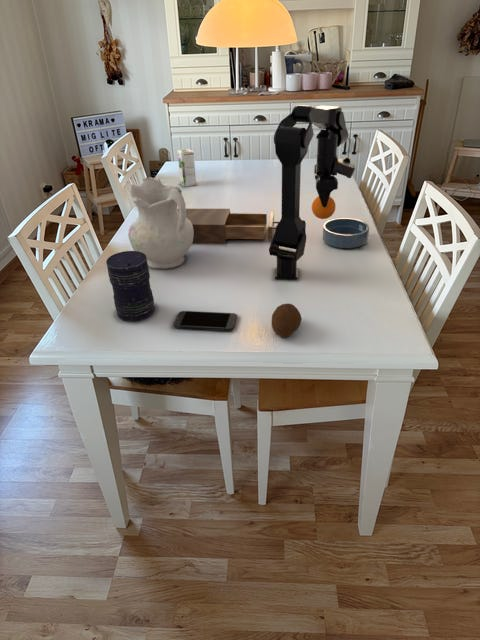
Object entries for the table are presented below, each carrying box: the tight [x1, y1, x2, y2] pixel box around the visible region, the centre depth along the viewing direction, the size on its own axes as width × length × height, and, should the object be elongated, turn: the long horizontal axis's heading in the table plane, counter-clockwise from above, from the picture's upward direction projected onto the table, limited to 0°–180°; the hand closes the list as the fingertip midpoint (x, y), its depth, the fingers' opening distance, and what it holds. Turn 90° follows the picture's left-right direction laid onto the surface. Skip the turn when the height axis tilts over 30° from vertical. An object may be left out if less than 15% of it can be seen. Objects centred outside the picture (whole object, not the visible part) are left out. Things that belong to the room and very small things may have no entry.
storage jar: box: [105, 250, 156, 323], centre depth 121 cm, size 10×10×15 cm
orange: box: [311, 195, 336, 220], centre depth 152 cm, size 7×7×7 cm
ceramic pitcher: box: [127, 176, 194, 270], centre depth 142 cm, size 22×20×25 cm
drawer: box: [225, 211, 280, 242], centre depth 161 cm, size 22×13×5 cm, turn 83°
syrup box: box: [177, 148, 197, 188], centre depth 209 cm, size 6×6×14 cm
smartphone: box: [172, 310, 238, 332], centre depth 119 cm, size 7×15×1 cm, turn 81°
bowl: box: [322, 217, 370, 249], centre depth 155 cm, size 14×14×5 cm
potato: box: [271, 302, 303, 338], centre depth 113 cm, size 7×10×7 cm
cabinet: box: [177, 208, 231, 245], centre depth 164 cm, size 19×15×7 cm
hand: (323, 203), depth 151 cm, fingers closed on orange, 7 cm apart
